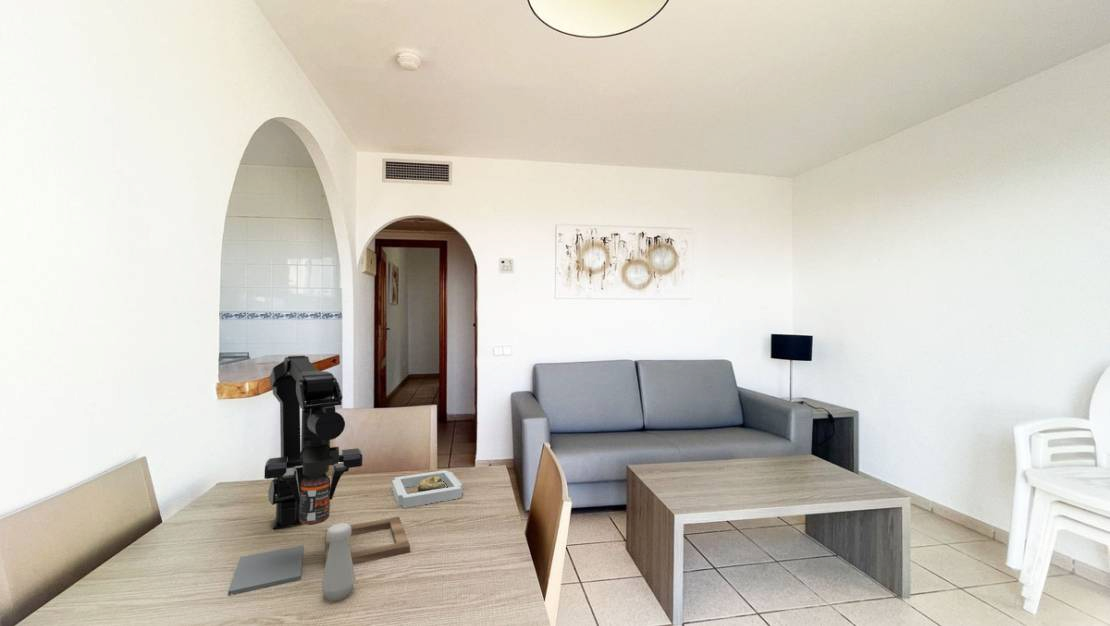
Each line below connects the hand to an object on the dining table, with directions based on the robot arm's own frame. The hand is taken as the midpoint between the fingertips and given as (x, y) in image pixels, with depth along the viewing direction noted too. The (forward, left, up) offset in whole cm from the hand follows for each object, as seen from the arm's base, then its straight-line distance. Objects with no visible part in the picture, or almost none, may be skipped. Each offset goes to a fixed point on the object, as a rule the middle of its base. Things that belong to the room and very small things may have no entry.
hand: (314, 501), depth 100 cm
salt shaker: (+17, +4, -12) cm, 22 cm away
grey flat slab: (+1, -8, -12) cm, 15 cm away
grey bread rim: (-28, +30, -12) cm, 42 cm away
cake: (-27, +32, -13) cm, 44 cm away
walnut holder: (-2, +11, -12) cm, 16 cm away
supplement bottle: (0, 0, -4) cm, 4 cm away
